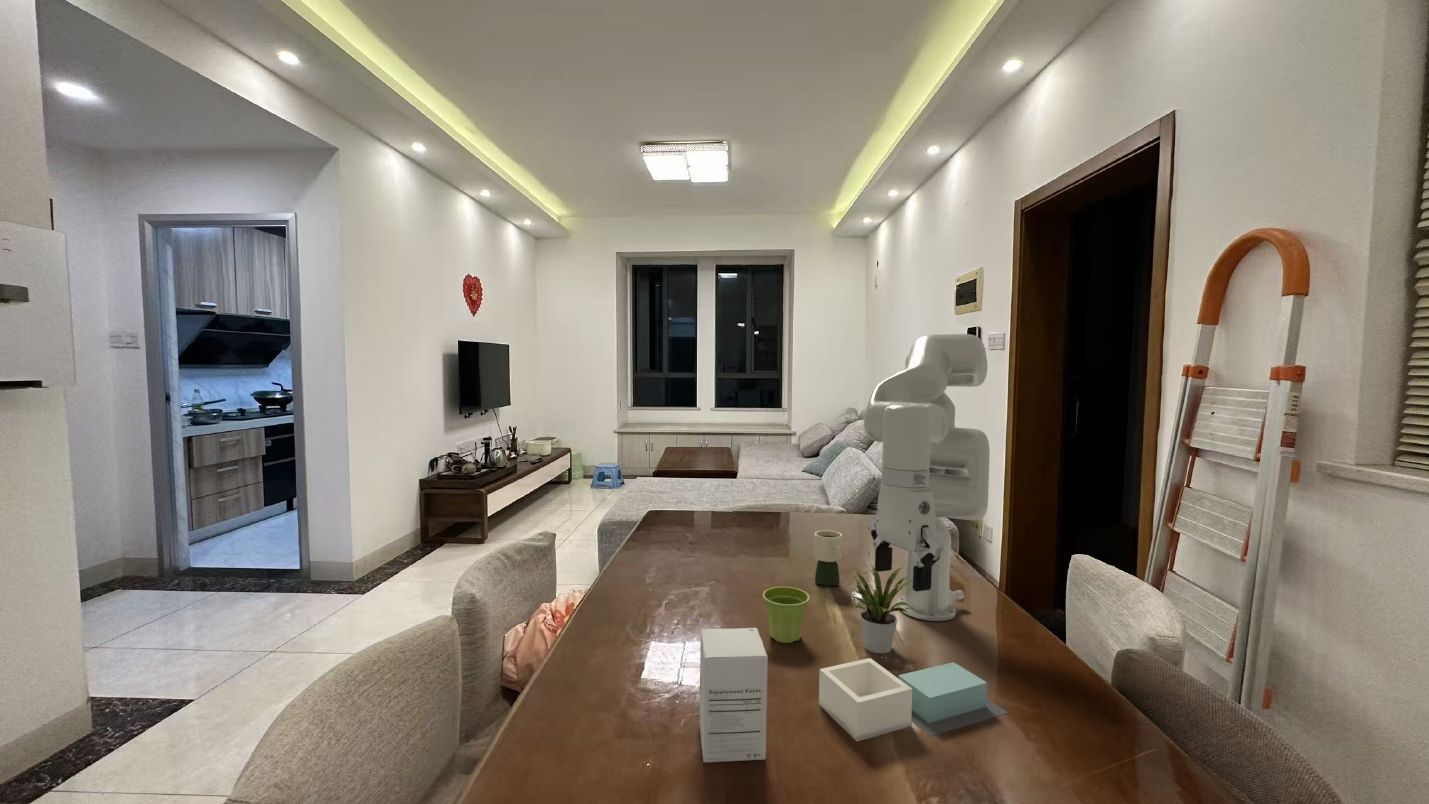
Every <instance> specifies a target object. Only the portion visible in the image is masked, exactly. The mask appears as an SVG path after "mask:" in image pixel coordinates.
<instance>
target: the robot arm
mask: <svg viewBox="0 0 1429 804" xmlns="http://www.w3.org/2000/svg"><path fill="white" fill-rule="evenodd" d="M904 365H905V368H904V370H901V371H899V372H897V373H895V374H894V375H892V376H891V377H888V378H887V379H885V380H883V381H881V382H880V383H879V384H877V386H876V387H875V388H874V389H873V391H872V393H871V395H870V398H869V401H868V403H867V406H866V408H865V413H864V418H863V428H864V432H865V435H866V436H867V438H869V439H870V440H871V441H873V442H877V443H882V460H881V461H882V462H881V483H880V488H879V493H878V498H877V507H876V515H875V516H873V517H870V518H869V519H868V524H869V528H870V530H871V531H870V536H871V538H872V539H873V543H872V545H873V547H874V548H875V550H874V551H875V552H874V553H875V557H874V568H875V571H877V572H878V573H879V572H889V571H892V569H893V547H891V545H893V546H894V547H897V548H899V549H901V550H904V551H905V567H904V568H905V569H904V570H905V572H904V578H906V579H904V583H906V582H908V581H913V583H910V584H908V585H906V586H904V595H902V596H900V597H899V598H897V602H896V603H899V602H906V603H908V604H909V606H910V607H909V606H906V605H899V606H897V608H899V607H900V608H903V609H905V610H906V611H907V612H908V613H907V612H905V611H901V612H902V613H903V614H905V615H907V616H910V617H913V618H914V619H918V620H922V621H923V620H924V621H929V622H930V621H931V622H944V621H950V620H952V619H954V618H955V617H956V615H957V609H956V608H955V606H954V604H953V602H955V600H956V601H958V600H961V599H962V600H963V599H964V597H965V594H964V591H963V590H961V589H958V590H953V591H952V590H951V588H950V579H951V578H950V575H951V572H950V570H951V552H952V551H951V549H952V548H951V547H952V546H951V545H952V538H951V533H950V532H949V529H948V527H947V526H946V524H945V523H944V522H943V520H941V518H950V519H958V520H966V521H980V520H982V519H983V518H985V516H986V514H987V511H988V507H989V506H988V504H989V490H990V489H989V488H990V487H989V486H990V485H989V483H990V455H991V453H990V444H989V443H990V442H989V438H988V435H987V434H986V433H985V432H983V430H980V429H976V428H969V427H967V428H966V427H956V426H955V418H956V407H955V404H954V403H953V401H952V400H951V398H950V397H949V396H948V394H947V393H946V389H947V387H968V388H969V387H971V388H972V387H973V388H975V387H979V386H981V385H982V384H984V382H985V380H986V378H987V374H988V369H989V368H988V357H987V352H986V347H985V344H984V342H983V341H982V340H981V339H980V338H979V337H978V336H977V335H974V334H969V333H961V334H960V333H956V334H954V333H952V334H948V333H947V334H946V333H945V334H928V335H924V336H922V337H918V338H917V339H916V340H915V341H914V342H913V343H912V345H911V348H910V351H909V354H908V355H907V356H906V359H905V364H904ZM930 468H936V469H946V470H959V471H963V472H965V473H966V475H956V474H947V473H937V472H935V473H934V472H930Z"/></svg>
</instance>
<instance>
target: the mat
mask: <svg viewBox="0 0 1429 804" xmlns="http://www.w3.org/2000/svg"><path fill="white" fill-rule="evenodd" d="M1006 714H1009V712H1008V711H1006V710H1005V709H1004V708H1002V707H1000V706H999V705H997V704H996V703H994V702H993V701H991V700H990V699H988V698H987V700H986V707H984V708H980V709H977V710H973V711H970V712H966V713H963V714H959V715H956V716H952V717H949V718H946V719H942V720H939V721H935V722H932V723H928V722H926V721H925V720H924V719H923V718H921V717H920V716H919V715H917V714H916V713H915V712H914V711H912V714H911V723H913V724H914V725H916V726H917V727H918V728H920V729H921V731H923V732H925V733H926V734H927V735H929V736H930V737H933V736H937V735H939V734H943V733H946V732H950V731H953V730H956V729H960V728H963V727H966V726H969V725H973V724H977V723H980V722H983V721H986V720H989V719H993V718H995V717H996V718H997V717H1000V716H1003V715H1006Z"/></svg>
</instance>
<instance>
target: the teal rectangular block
mask: <svg viewBox="0 0 1429 804" xmlns="http://www.w3.org/2000/svg"><path fill="white" fill-rule="evenodd" d="M897 678H898V679H900V680H901V681H902V682H904V683H905V684H907V685H908V686H909V687H911V688H912V711H914V712H915V713H916V714H917V715H919V716H920V717H921V718H923V719H924V720H925V721H926V722H928V723H932V722H935V721H939V720H942V719H946V718H949V717H952V716H956V715H959V714H963V713H966V712H970V711H973V710H977V709H980V708H984V707H986V700H987V699H988V698H987V695H988V682H987V681H985V680H984V679H982V678H980V677H979V676H977V675H975V674H974V673H972V672H970V671H969V670H967V669H965V668H964V667H962V666H960V665H959V664H957V663H955V661H954V662H949V663H945V664H940V665H936V666H932V667H927V668H924V669H919V670H915V671H911V672H906V673H902V674H899V675H898V676H897Z"/></svg>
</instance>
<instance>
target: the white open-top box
mask: <svg viewBox="0 0 1429 804" xmlns="http://www.w3.org/2000/svg"><path fill="white" fill-rule="evenodd" d="M818 678H819V683H818V685H819V686H818V705H819V707H821V709H823V710H824V711H825V712H826V713H827V714H828V715H829V716H830V717H831V718H832V719H833V720H834V721H835V722H836V723H837V724H839V726H840V727H841V728H843V729H844V730H845V732H846V733H847V734H848V735H850V736H851V738H853V739H854V741H856V742H860V741H861V742H862V741H864V740H868V739H871V738H875V737H878V736H881V735H884V734H888V733H892V732H895V731H899V730H902V729H907V728H910V727H912V721H911V714H912V688H911V687H909V686H908V685H907V684H905V683H904V682H902V681H901V680H900V679H898V676H895V675H894V674H893V673H891V672H890V671H889V670H887V669H886V668H885V667H883V666H882V665H880V664H879V663H878V662H876V661H875V660H874V659H872V658H871V657H869V658H864V659H859V660H855V661H850V662H846V663H841V664H837V665H836V664H835V665H832V666H828V667H823V668H819V677H818Z"/></svg>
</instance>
